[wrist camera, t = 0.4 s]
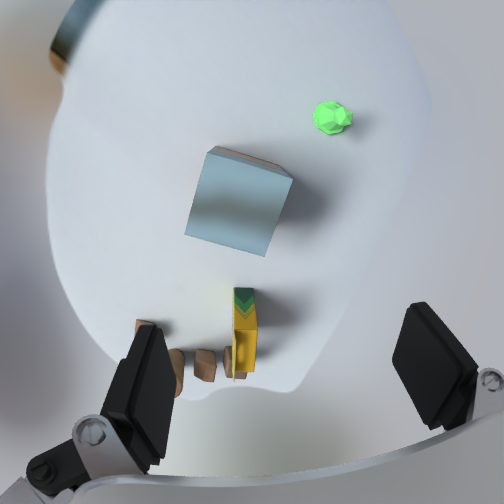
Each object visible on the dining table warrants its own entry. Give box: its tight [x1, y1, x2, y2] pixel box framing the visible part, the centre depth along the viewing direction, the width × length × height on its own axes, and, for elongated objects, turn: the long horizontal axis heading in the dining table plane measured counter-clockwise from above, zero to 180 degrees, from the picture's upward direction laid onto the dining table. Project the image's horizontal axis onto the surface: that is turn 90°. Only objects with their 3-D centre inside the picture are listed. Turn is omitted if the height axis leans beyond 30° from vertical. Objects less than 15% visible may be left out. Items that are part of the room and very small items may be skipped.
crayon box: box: [232, 288, 258, 382], centre depth 38 cm, size 7×3×12 cm, turn 176°
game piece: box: [313, 101, 353, 134], centre depth 30 cm, size 4×4×6 cm
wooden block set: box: [135, 319, 247, 398], centre depth 42 cm, size 18×9×10 cm, turn 76°
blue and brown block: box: [184, 146, 293, 257], centre depth 31 cm, size 8×8×10 cm
